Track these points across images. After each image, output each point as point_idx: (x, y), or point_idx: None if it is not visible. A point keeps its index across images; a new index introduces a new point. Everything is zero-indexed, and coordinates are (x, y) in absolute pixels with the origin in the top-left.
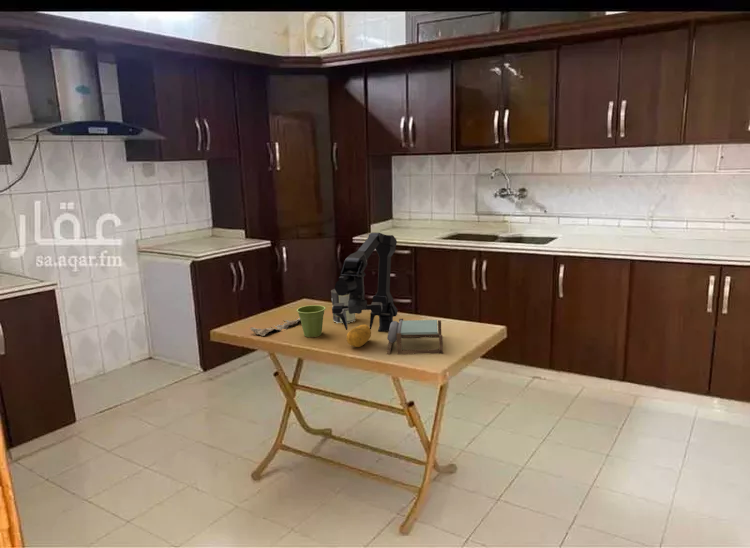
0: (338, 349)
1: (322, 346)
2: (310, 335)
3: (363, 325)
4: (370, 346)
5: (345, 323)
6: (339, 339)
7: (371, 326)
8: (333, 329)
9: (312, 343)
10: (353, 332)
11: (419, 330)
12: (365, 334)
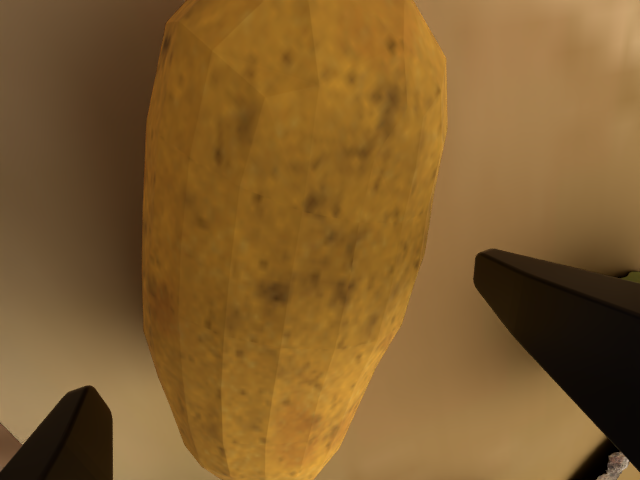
0: (437, 30)
1: (573, 106)
2: (638, 278)
3: (277, 454)
4: (107, 198)
5: (603, 294)
6: (457, 294)
7: (20, 450)
8: (502, 419)
9: (629, 166)
10: (346, 87)
11: None
12: (151, 256)
